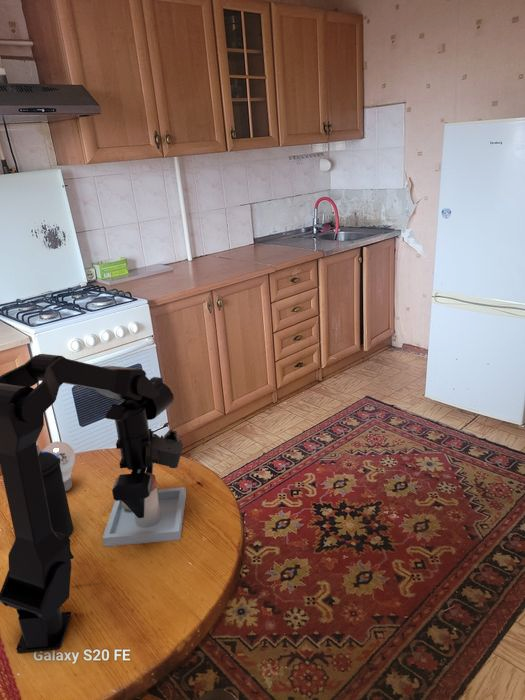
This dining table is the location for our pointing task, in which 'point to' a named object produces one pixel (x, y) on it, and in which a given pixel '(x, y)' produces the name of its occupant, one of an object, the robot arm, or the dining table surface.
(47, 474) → the aerosol can
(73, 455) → the light bulb
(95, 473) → the dining table surface
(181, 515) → the dish
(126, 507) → the cork ball
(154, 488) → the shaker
